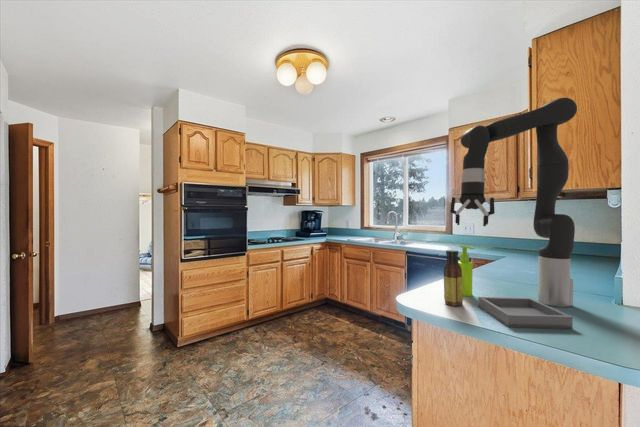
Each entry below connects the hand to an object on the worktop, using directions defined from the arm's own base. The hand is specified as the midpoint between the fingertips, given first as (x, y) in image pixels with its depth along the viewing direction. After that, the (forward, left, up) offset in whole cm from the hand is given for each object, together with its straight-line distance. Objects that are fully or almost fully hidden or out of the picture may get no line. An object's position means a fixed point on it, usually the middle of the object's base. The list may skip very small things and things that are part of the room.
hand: (471, 225), depth 105 cm
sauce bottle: (+7, +1, -29) cm, 30 cm away
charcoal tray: (-10, +12, -29) cm, 33 cm away
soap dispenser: (-3, -12, -29) cm, 32 cm away
